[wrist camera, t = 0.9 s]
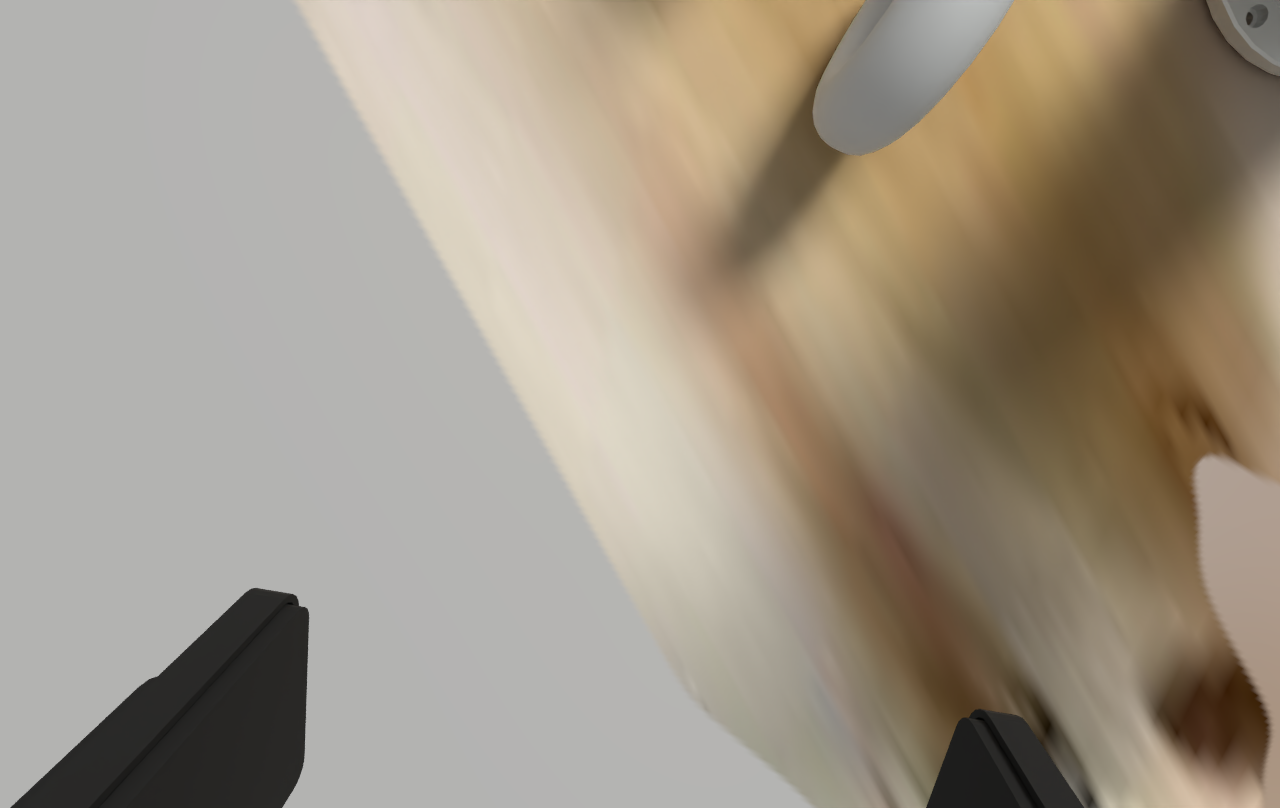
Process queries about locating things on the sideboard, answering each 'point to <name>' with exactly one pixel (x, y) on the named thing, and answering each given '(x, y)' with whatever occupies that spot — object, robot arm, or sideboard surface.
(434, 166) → the sideboard surface
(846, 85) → the donut
